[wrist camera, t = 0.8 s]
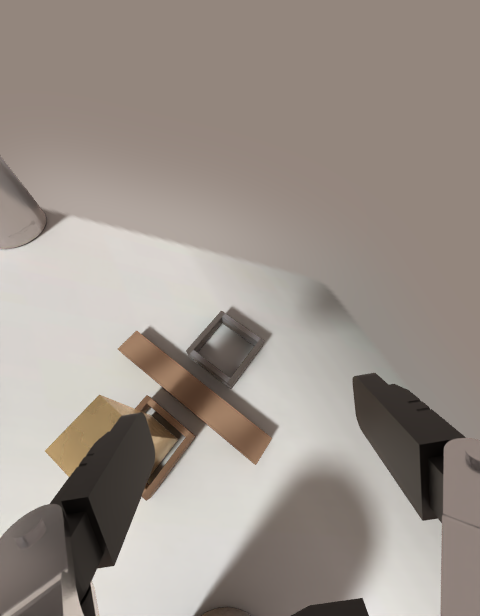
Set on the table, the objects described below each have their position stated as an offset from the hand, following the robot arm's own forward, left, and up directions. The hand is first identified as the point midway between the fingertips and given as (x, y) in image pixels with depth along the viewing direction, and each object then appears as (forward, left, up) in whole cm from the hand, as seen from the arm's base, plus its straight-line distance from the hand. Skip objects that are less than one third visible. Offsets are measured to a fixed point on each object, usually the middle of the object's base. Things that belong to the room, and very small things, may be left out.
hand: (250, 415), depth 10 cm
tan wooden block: (-6, -6, -22) cm, 23 cm away
